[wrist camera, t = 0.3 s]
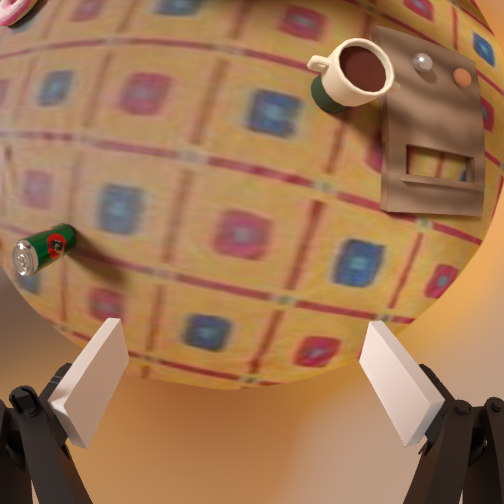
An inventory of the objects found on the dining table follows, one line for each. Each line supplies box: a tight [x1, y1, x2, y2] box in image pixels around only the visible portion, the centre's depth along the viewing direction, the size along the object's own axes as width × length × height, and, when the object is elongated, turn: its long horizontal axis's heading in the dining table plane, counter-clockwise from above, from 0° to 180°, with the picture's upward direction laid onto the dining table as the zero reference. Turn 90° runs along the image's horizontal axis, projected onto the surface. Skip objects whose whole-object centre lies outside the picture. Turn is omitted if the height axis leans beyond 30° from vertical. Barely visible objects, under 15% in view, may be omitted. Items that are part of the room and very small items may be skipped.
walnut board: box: [371, 25, 485, 217], centre depth 34 cm, size 30×22×4 cm
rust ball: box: [453, 68, 471, 87], centre depth 30 cm, size 3×3×3 cm
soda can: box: [12, 223, 76, 275], centre depth 34 cm, size 5×5×12 cm
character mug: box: [307, 38, 401, 113], centre depth 29 cm, size 11×7×13 cm, turn 81°
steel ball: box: [412, 53, 433, 73], centre depth 30 cm, size 3×3×3 cm
